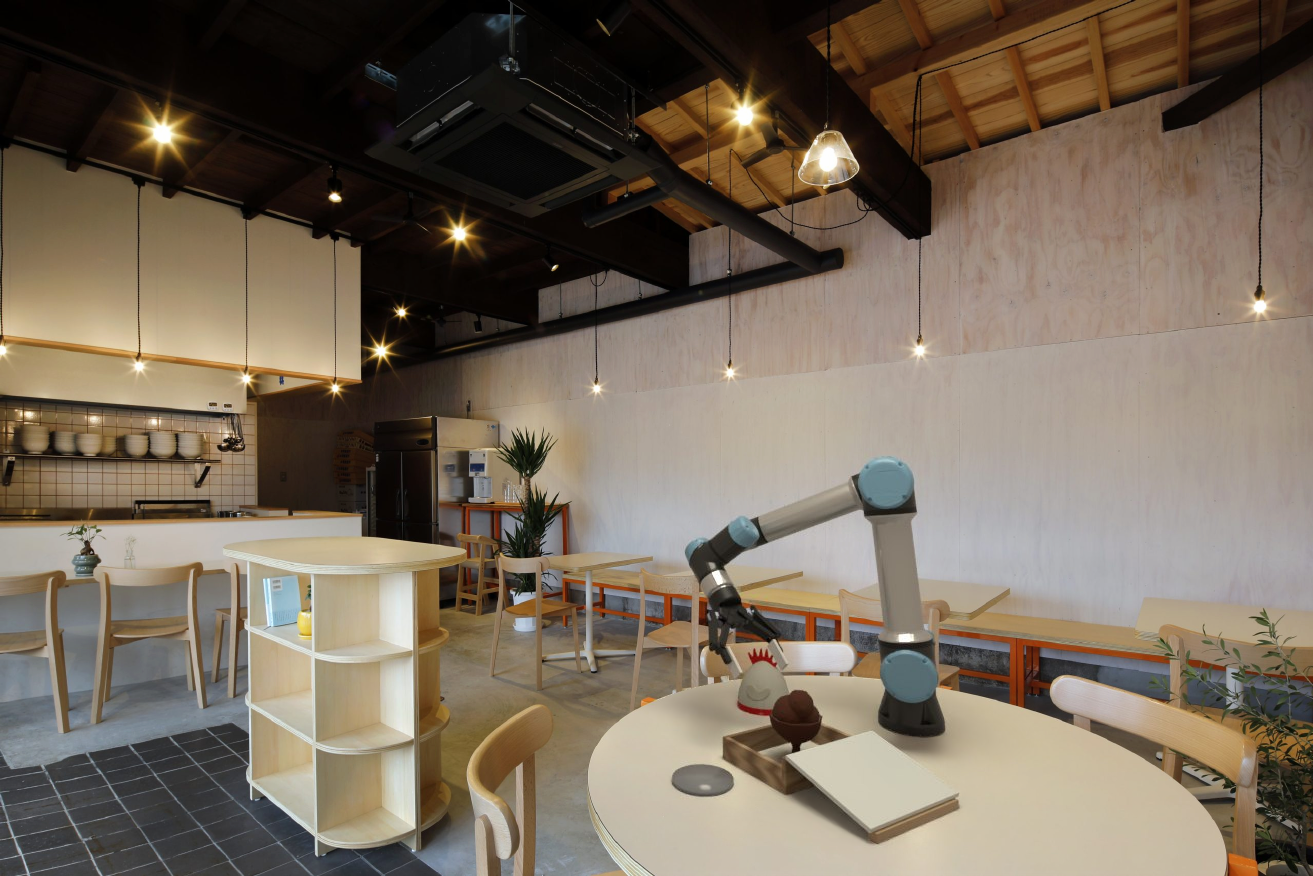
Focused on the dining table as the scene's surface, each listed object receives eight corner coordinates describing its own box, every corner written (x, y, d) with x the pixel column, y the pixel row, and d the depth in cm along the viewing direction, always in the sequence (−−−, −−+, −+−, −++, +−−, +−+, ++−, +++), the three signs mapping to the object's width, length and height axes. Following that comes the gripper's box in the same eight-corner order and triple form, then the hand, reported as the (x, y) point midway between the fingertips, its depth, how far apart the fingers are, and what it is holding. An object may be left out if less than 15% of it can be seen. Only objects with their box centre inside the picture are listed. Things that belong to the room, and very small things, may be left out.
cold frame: (871, 766, 133) (871, 733, 133) (785, 795, 120) (785, 759, 121) (804, 736, 149) (804, 707, 149) (722, 758, 136) (722, 726, 137)
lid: (962, 807, 116) (960, 765, 116) (873, 845, 103) (872, 799, 104) (871, 766, 133) (870, 730, 133) (785, 795, 120) (785, 755, 121)
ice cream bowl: (824, 755, 138) (823, 684, 139) (820, 777, 127) (819, 699, 129) (774, 748, 141) (774, 678, 143) (766, 769, 131) (766, 694, 132)
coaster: (744, 778, 127) (744, 774, 127) (715, 802, 117) (715, 798, 117) (692, 763, 134) (692, 759, 134) (660, 785, 124) (660, 781, 124)
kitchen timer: (745, 695, 178) (745, 640, 179) (795, 702, 172) (795, 645, 174) (731, 711, 165) (731, 651, 166) (784, 719, 160) (784, 657, 161)
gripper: (753, 598, 167) (794, 672, 153) (673, 607, 154) (710, 689, 140) (766, 580, 163) (810, 654, 149) (685, 588, 149) (725, 670, 136)
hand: (762, 671), depth 144 cm, fingers open, 13 cm apart
